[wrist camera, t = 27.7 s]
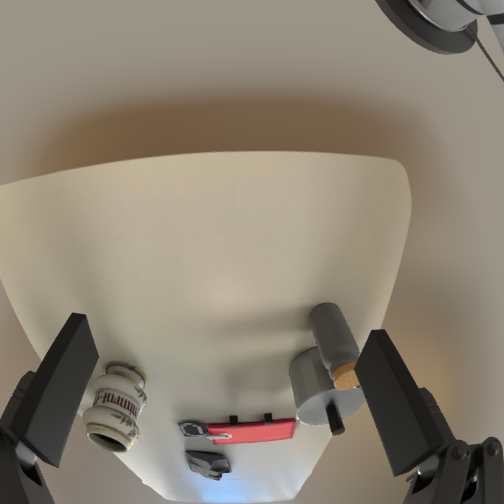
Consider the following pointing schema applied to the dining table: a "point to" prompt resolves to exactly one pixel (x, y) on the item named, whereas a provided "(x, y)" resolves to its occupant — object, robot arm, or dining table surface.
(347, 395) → the pot lid
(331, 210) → the dining table surface
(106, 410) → the apothecary jar
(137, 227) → the dining table surface
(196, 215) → the dining table surface
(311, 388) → the pot
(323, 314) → the bottle
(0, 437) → the robot arm
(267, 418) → the red board with handle
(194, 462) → the dark slate chunk
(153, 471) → the dining table surface
